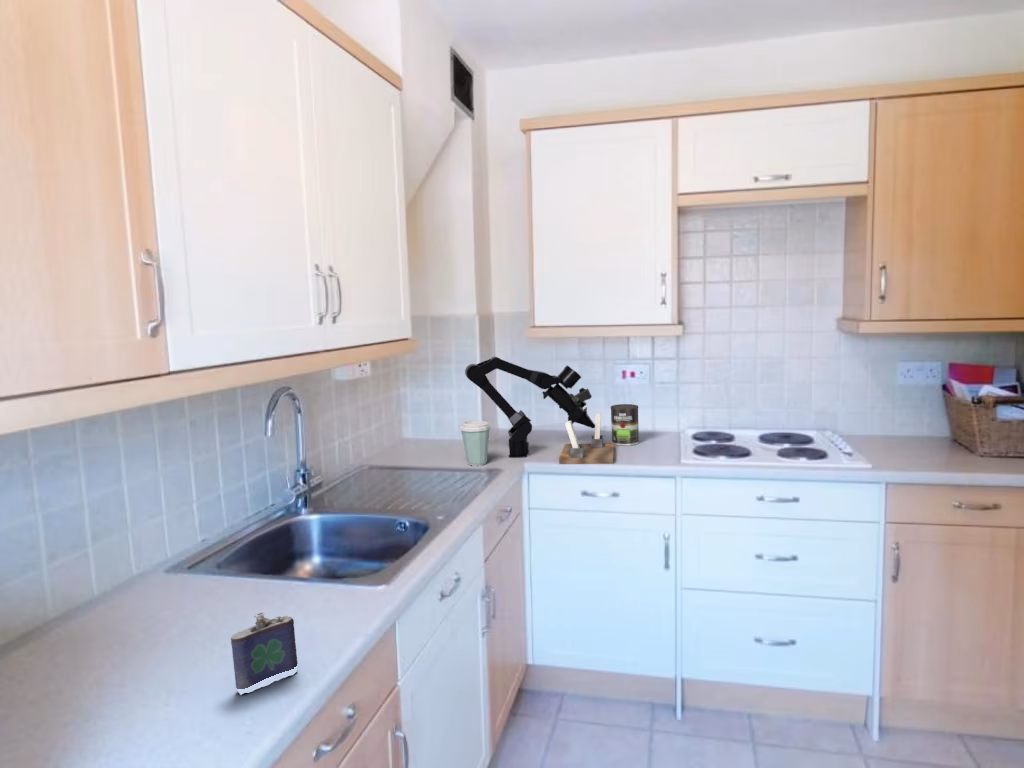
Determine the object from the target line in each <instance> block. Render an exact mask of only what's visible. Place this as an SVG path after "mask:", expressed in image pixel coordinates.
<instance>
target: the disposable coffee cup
mask: <svg viewBox="0 0 1024 768" xmlns="http://www.w3.org/2000/svg"><path fill="white" fill-rule="evenodd" d="M459 428H460V429H459V430H460V431H461V435H462V442H463V445H464V452H465V456H466V461H467V464H468V465H469V466H470V465H472V466H471V467H478V466H477V465H481V466H484V465H483V464H485V465H486V464H487V462H488V452H489V442H490V440H489V439H490V430H491V424H490V423H489V422H488V421H484V420H464V421H461V424H460V427H459Z"/></svg>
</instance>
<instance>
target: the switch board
mask: <svg viewBox="0 0 1024 768" xmlns="http://www.w3.org/2000/svg"><path fill="white" fill-rule="evenodd" d="M594 438H595V434H594V435H591V439H590V443H589V442H588V443H579V446H580V448H573V447H572V444H571V443H565V444H564V446H563V448H562V450H561V453H560V455H559V458H558V463H559V464H558V465H583V464H584V465H600V464H603V465H604V464H605V465H606V464H610V465H611V464H612V465H613V464H614V457H615V445H614V443H612V442H608V443H607V442H604V435H603V434H600V439H594Z"/></svg>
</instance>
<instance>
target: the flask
mask: <svg viewBox="0 0 1024 768" xmlns="http://www.w3.org/2000/svg"><path fill="white" fill-rule="evenodd" d="M264 615H265V613H264V612H258V613H257V614H256V615H254V618H256V619H255V620H256V621H255V622H254V624H255V625H253V626H250V627H248V628H246V629H243V630H240V631H238V632H236V633H234V634H232V635H231V638H230V644H231V651H232V653H231V654H232V661H233V669H234V679H235V689H236V688H237V689H245V688H248V687H250V686H252V685H254V684H256V683H258V682H260V681H262V680H264V679H266V678H269V677H271V676H274V675H276V674H279V673H282V672H285V671H289V670H291V669H294V667H296V666H297V664H298V657H297V656H298V655H297V646H296V644H297V643H296V635H295V634H296V633H295V624H294V623H295V621H294V618H293V617H292V616H288V615H284V616H281V615H279V616H275V617H274V618H271V619H269V618H268V617H265V616H264ZM298 665H299V664H298Z"/></svg>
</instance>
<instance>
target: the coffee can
mask: <svg viewBox="0 0 1024 768" xmlns="http://www.w3.org/2000/svg"><path fill="white" fill-rule="evenodd" d="M610 420H611V421H610V422H611V424H610V425H611V443H614V446H622V447H625V446H626V447H629V446H636V445H639V444H640V441H639V439H640V436H639V433H640V432H639V431H640V430H639V405H637V404H633V403H632V404H629V403H622V404H613V405H611V406H610Z"/></svg>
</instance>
